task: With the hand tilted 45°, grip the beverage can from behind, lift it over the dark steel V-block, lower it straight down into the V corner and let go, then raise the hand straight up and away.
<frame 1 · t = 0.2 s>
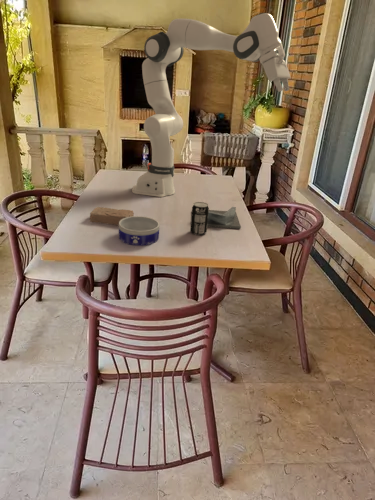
hand: (284, 90, 153), 54 cm above the table, tool tilted 30°, fingers open, 8 cm apart
v block: (215, 219, 167), on the table
brick: (111, 221, 158), on the table
beverage can: (198, 232, 153), on the table
dog bowl: (139, 238, 145), on the table
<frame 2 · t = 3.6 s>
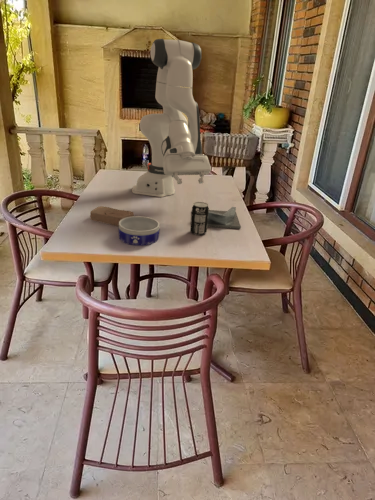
hand: (190, 183, 156), 17 cm above the table, tool tilted 45°, fingers open, 8 cm apart
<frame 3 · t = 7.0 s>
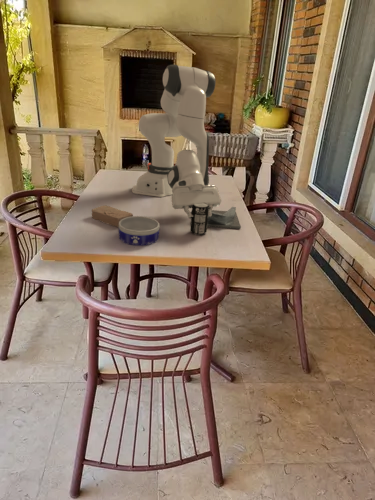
hand: (200, 217, 149), 7 cm above the table, tool tilted 45°, fingers closed on beverage can, 7 cm apart
beverage can: (198, 232, 153), on the table, touching gripper
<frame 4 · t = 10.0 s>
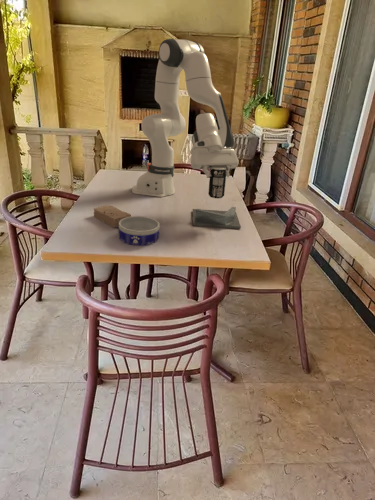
hand: (218, 176, 153), 21 cm above the table, tool tilted 45°, fingers closed on beverage can, 7 cm apart
beverage can: (216, 196, 157), point 12 cm above the table, touching gripper
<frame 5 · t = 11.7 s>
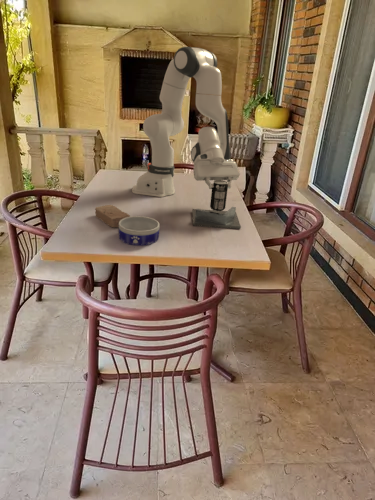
hand: (220, 188, 160), 15 cm above the table, tool tilted 45°, fingers closed on beverage can, 7 cm apart
beverage can: (217, 209, 164), point 5 cm above the table, touching gripper
when the fingers open (11 cm above the table, at t = 13.0 s): beverage can stays where it is, resting on v block.
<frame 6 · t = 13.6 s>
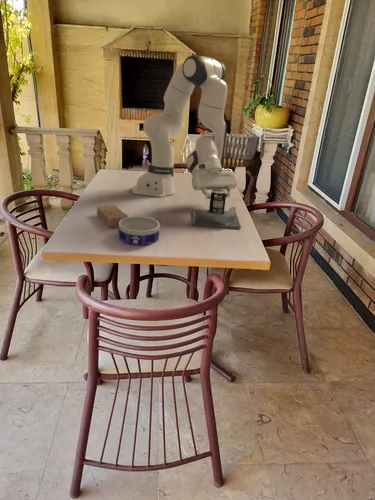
hand: (218, 197, 162), 10 cm above the table, tool tilted 45°, fingers open, 8 cm apart
beverage can: (215, 217, 167), point 1 cm above the table, touching v block
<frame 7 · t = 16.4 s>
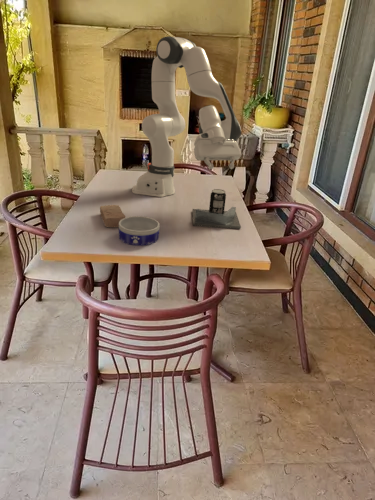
hand: (221, 168, 157), 23 cm above the table, tool tilted 45°, fingers open, 8 cm apart
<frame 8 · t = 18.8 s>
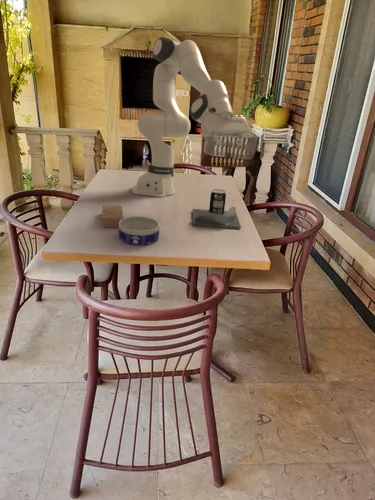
hand: (229, 144, 150), 33 cm above the table, tool tilted 45°, fingers open, 8 cm apart
at the end: beverage can 0.1 cm off-centre on the v block, point 1.0 cm above the v block's base; beverage can tilted 0°; the gripper is holding nothing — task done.
